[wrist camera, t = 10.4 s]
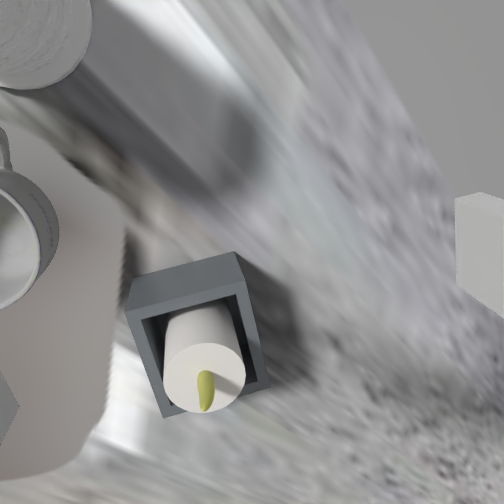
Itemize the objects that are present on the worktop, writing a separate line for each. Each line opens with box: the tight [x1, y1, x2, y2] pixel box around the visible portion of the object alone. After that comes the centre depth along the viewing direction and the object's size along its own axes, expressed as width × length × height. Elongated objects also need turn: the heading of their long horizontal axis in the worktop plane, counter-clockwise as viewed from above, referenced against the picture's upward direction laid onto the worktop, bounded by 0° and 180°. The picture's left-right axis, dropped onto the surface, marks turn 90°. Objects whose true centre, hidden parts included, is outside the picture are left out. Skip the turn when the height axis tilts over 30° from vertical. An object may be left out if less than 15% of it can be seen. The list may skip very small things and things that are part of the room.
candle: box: [163, 297, 246, 413], centre depth 35 cm, size 6×6×15 cm
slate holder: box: [125, 252, 271, 418], centre depth 39 cm, size 11×10×7 cm
